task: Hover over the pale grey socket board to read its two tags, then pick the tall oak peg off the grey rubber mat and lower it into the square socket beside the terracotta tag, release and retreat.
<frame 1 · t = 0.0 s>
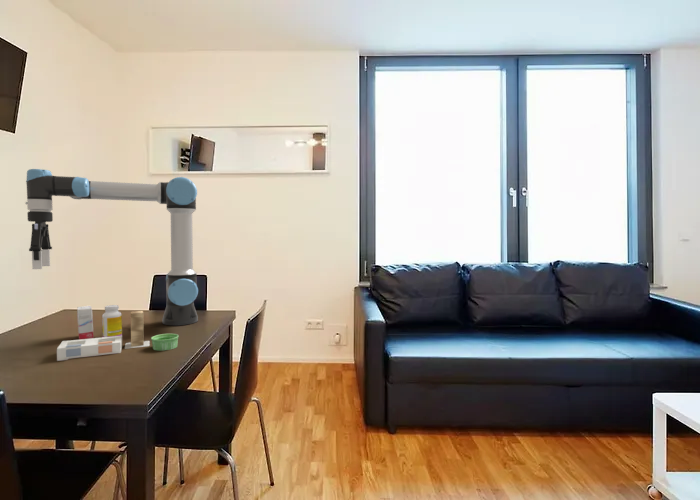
hand: (41, 267, 155), 28 cm above the table, fingers open, 13 cm apart
supplement bottle: (112, 339, 161), on the table
ramekin: (165, 349, 148), on the table
oak peg: (137, 344, 152), resting on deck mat
socket board: (91, 353, 142), on the table
ink box: (85, 337, 163), on the table
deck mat: (137, 345, 152), on the table
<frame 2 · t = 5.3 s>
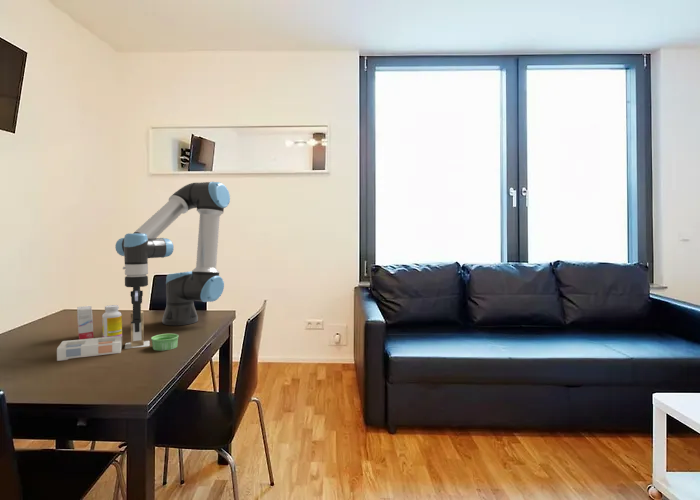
hand: (137, 338, 151), 3 cm above the table, fingers closed on oak peg, 4 cm apart
oak peg: (137, 344, 152), resting on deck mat, touching gripper
everything else where it was.
when the fingers open (5 cm above the table, at t = 10.0 s): oak peg drops 2 cm, resting on socket board.
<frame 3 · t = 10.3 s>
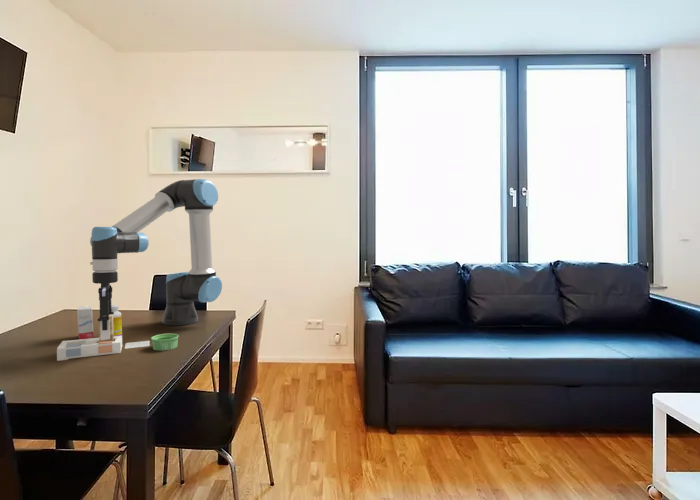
hand: (106, 336, 144), 5 cm above the table, fingers open, 8 cm apart
oak peg: (106, 350, 144), point 1 cm above the table, touching socket board
everything else where it was.
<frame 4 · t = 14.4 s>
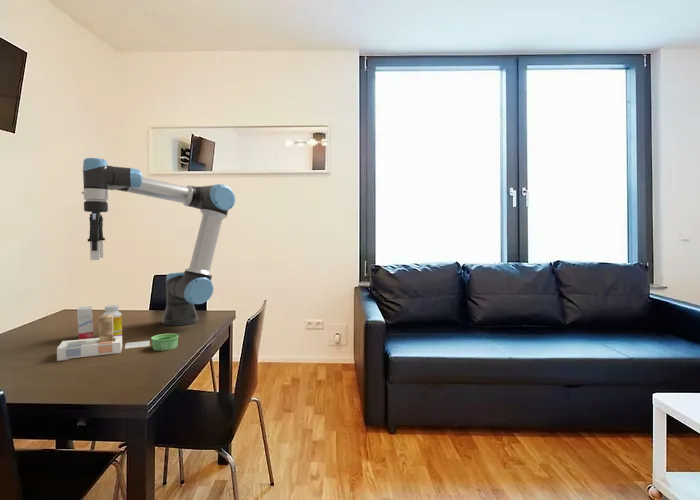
hand: (97, 258, 152), 32 cm above the table, fingers open, 13 cm apart
nothing on the table moved.
at the end: oak peg 0.1 cm from the target spot on the socket board, point 0.5 cm above the socket board's base; oak peg tilted 0°; the gripper is holding nothing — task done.
